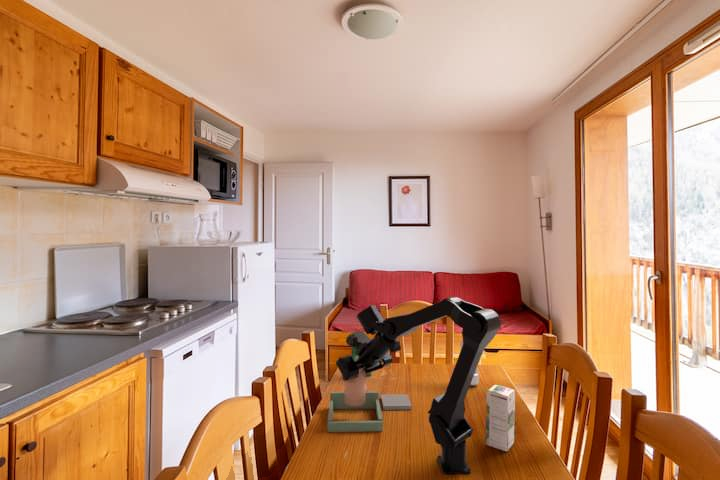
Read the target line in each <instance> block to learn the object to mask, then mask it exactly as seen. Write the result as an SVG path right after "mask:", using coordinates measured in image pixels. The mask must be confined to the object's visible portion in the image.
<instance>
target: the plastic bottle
mask: <svg viewBox="0 0 720 480" xmlns="http://www.w3.org/2000/svg"><path fill="white" fill-rule="evenodd" d="M462 346H463V339H461V341H460V344H459V347H460V350H461V349H462ZM478 369H479V368H478V367H477V368H476V371H475V373H474V376H473V378H472V381H471V384H470V386H469V387H474V386H477V385H478V384H479V381H480V375H479V371H478Z"/></svg>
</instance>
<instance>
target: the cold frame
mask: <svg viewBox="0 0 720 480" xmlns="http://www.w3.org/2000/svg"><path fill="white" fill-rule="evenodd" d="M379 395H380V393H379V391H366V402H365V404H363V405H360V406H350V405H347V404H345V403H344V391H330V392H329V407H328V413H327V414H328V416H327V432H328V433H342V432H343V433H347V432H348V433H351V432H352V433H357V432H362V433H363V432H383V429H384V428H383V427H384V424H383V423H384V422H383V415H382V408H381V404H380V396H379ZM341 409H342V410H344V409H345V410H347V409H348V410H349V409H350V410H351V409H353V410H354V409H355V410H356V409H357V410H358V409H362V410H363V409H375V412H376V419H377V420H348V421H347V420H345V421H344V420H343V421H342V420H340V421H337V420H335V421H334V420H333V417H334V410H341Z"/></svg>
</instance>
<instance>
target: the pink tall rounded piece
mask: <svg viewBox="0 0 720 480" xmlns="http://www.w3.org/2000/svg"><path fill="white" fill-rule="evenodd" d="M366 378H367V376H366V371H365V370H364V369H360V370H359V374H358V377H356V378H353V379H350V380H346V381H343V392H344V403H345V404H347V405H350V406H360V405H363V404H365V402H366V392H367V391H366V390H367V385H366V384H367V379H366Z"/></svg>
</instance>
